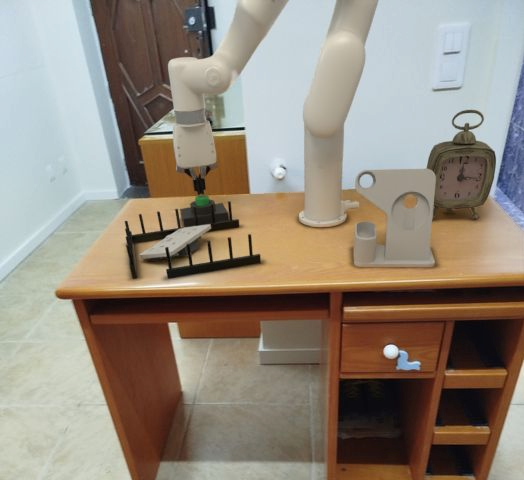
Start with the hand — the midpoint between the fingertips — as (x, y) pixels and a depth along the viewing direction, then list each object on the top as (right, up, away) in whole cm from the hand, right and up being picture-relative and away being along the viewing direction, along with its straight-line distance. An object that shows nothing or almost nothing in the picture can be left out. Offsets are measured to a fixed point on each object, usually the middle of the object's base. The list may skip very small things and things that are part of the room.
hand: (200, 192), depth 127 cm
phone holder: (+45, -21, -20) cm, 54 cm away
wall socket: (-5, -18, -10) cm, 21 cm away
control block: (+1, -6, +4) cm, 8 cm away
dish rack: (-1, -18, -12) cm, 21 cm away
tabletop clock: (+65, -7, -3) cm, 66 cm away
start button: (0, -3, +2) cm, 3 cm away
